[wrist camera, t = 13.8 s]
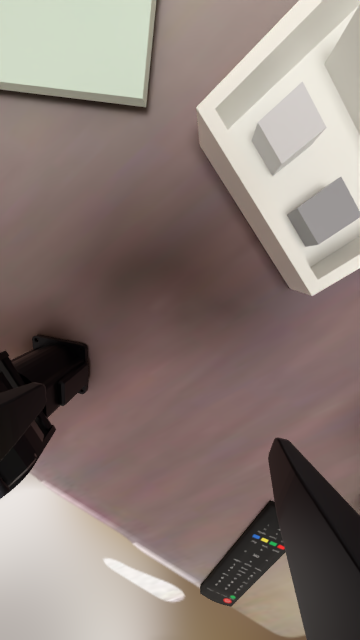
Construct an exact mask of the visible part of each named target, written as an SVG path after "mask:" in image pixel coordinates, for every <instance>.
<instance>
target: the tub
mask: <svg viewBox="0 0 360 640" xmlns="http://www.w3.org/2000/svg"><path fill="white" fill-rule="evenodd" d="M196 110H197V122H198V134H199V145H200V147H201V149H202V150H203V152H204V153H205V155H206V156H207V158H208V160H209V161H210V163H211V164H212V166H213V168H214V169H215V171H216V172H217V174H218V175H219V177H220V179H221V180H222V182H223V183H224V185H225V187H226V188H227V190H228V191H229V193H230V195H231V196H232V198H233V199H234V201H235V202H236V204H237V206H238V207H239V209H240V210H241V212H242V214H243V215H244V217H245V218H246V220H247V221H248V223H249V225H250V226H251V228H252V229H253V231H254V233H255V234H256V236H257V237H258V239H259V241H260V242H261V244H262V245H263V247H264V248H265V250H266V252H267V253H268V255H269V256H270V258H271V260H272V261H273V263H274V264H275V266H276V267H277V269H278V271H279V272H280V274H281V275H282V277H283V279H284V280H285V282H286V283H287V285H288V287H289V288H290V289H292V290H295V291H298V292H301V293H304V294H307V295H310V296H313V295H315V294H316V293H318V292H320V291H322V290H323V289H325V288H327V287H328V286H330V285H332V284H333V283H335V282H337V281H338V280H340V279H342V278H344V277H345V276H347V275H349V274H350V273H352V272H354V271H355V270H357V269H359V268H360V0H299V1H298V2H297V3H296V4H295V5H294V6H293V8H292V9H291V10H290V11H289V12H288V13H287V14H286V15H285V16H284V17H283V18H282V19H281V20H280V21H279V22H278V23H277V24H276V25H275V26H274V27H273V28H272V29H271V30H270V31H269V32H268V33H267V35H266V36H265V37H264V38H263V39H262V40H261V41H260V42H259V43H258V44H257V45H256V46H255V47H254V48H253V49H252V50H251V51H250V52H249V53H248V54H247V55H246V56H245V57H244V58H243V59H242V61H241V62H240V63H239V64H238V65H237V66H236V67H235V68H234V69H233V70H232V71H231V72H230V73H229V74H228V75H227V76H226V77H225V78H224V79H223V80H222V81H221V82H220V83H219V84H218V85H217V86H216V88H215V89H214V90H213V91H212V92H211V93H210V94H209V95H208V96H207V97H206V98H205V99H204V100H203V101H202V102H201V103H200V104H199V105H198V106H197V107H196Z"/></svg>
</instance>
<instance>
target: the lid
mask: <svg viewBox="0 0 360 640" xmlns="http://www.w3.org/2000/svg"><path fill="white" fill-rule="evenodd" d="M155 10H156V0H0V89H1V90H10V91H18V92H26V93H34V94H42V95H50V96H59V97H67V98H75V99H83V100H91V101H100V102H108V103H116V104H124V105H132V106H141V107H146V103H147V92H148V82H149V72H150V61H151V51H152V41H153V31H154V20H155Z"/></svg>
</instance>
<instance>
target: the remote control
mask: <svg viewBox="0 0 360 640" xmlns="http://www.w3.org/2000/svg"><path fill="white" fill-rule="evenodd" d="M285 552H286V551H285V547H284V543H283V539H282V535H281V530H280V526H279V522H278V517H277V512H276V507H275V502H273V501H270V502H269V504H268V505H267V506H266V507H265V508H264V510H263V511H262V512H261V513H260V515H259V516H258V517H257V518H256V519H255V521H254V522H253V523H252V524H251V525H250V527H249V528H248V529H247V530H246V532H245V533H244V534H243V535H242V536H241V538H240V539H239V540H238V541H237V542H236V544H235V545H234V546H233V547H232V549H231V550H230V551H229V552H228V553H227V555H226V556H225V557H224V558H223V560H222V561H221V562H220V563H219V564H218V566H217V567H216V568H215V569H214V570H213V572H212V573H211V574H210V575H209V577H208V578H207V579H206V580H205V581H204V583H203V584H202V585H201V586H200V593H201V594H202V595H204V596H205V597H207V598H208V599H210V600H212V601H214V602H217V603H220V604H223V605H227V606H232V605H233V604H234V603H235V602H236V601H237V600H238V599H239V598H240V597H241V596H242V595H243V594H244V593H245V592H246V591H247V590H248V589H249V588H250V587H251V586H252V585H253V584H254V583H255V582H256V581H257V580H258V579H259V578H260V577H261V576H262V575H263V574H264V573H265V572H266V571H267V570H268V569H269V568H270V567H271V566H272V565H273V564H274V563H275V562H276V561H277V560H278V559H279V558H280V557H281V556H282V555H283V554H284V553H285Z"/></svg>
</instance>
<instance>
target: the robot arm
mask: <svg viewBox="0 0 360 640" xmlns="http://www.w3.org/2000/svg"><path fill="white" fill-rule="evenodd" d="M32 340H33V350H31V351H29V352H27V353H25V354H23V355H21V356H19V357H17V358H15V359H13V360H10V359H9V357H8V356H9V355H8V353H7V352H6V351H3V352H1V353H0V498H2V497H3V496H5V495H6V494H7V493H9V492H10V491H11V490H12V489H13V488H15V487H16V485H18V484H19V483H20V482H21V481H22V480H23V479H24V478H25V477H26V475H27V474H28V473H29V472H30V470H31V469H32V468H33V466H34V465H35V463H36V461H37V460H38V458H39V456H40V455H41V453H42V452H43V450H44V448H45V447H46V445H47V443H48V442H49V440H50V439H51V437H52V435H53V434H54V432H55V431H56V429H55V427H54V426H53V425H51V423H50V422H49V420H48V417H49V416H50V415H51V414H52V413H53V412H54V411H55V410H56V409H57V408H58V407H59V406H60V405H61V406H64V405H65V404H67V403H68V402H69V401H70V400H71V399H72V398H73V397H74V396H75V395H76V394H77V393H80V394H84V393H85V392H86V391H87V389H88V363H87V346H86V345H85V344H82V343H77V342H72V341H67V340H62V339H57V338H52V337H47V336H42V335H36V336H34V337H33V339H32ZM81 347H82V348H83V349H82V348H81ZM268 460H269V467H270V474H271V481H272V487H273V494H274V500H275V507H276V512H277V517H278V522H279V526H280V530H281V535H282V539H283V543H284V547H285V551H286V555H287V559H288V564H289V568H290V572H291V576H292V580H293V584H294V588H295V593H296V597H297V601H298V605H299V609H300V613H301V617H302V622H303V626H304V630H305V634H306V638H307V640H360V516H359V514H358V513H357V512H356V511H355V510H354V509H353V508H352V507H351V506H350V505H349V504H348V503H347V502H346V501H345V500H344V499H343V497H342V496H341V495H340V494H339V493H338V492H337V491H336V490H335V489H334V488H333V487H332V486H331V485H330V484H329V483H328V482H327V480H326V479H325V478H324V477H323V476H322V475H321V474H320V473H319V472H318V471H317V470H316V469H315V468H314V467H313V466H312V465H311V463H310V462H309V461H308V460H307V459H306V458H305V457H304V456H303V455H302V454H301V453H300V452H299V451H298V450H297V449H296V448H295V446H294V445H293V444H292V443H291V442H290V441H288V440H286V439H282V438H275V439H274V442H273V444H272V447H271V450H270V452H269V457H268Z"/></svg>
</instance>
